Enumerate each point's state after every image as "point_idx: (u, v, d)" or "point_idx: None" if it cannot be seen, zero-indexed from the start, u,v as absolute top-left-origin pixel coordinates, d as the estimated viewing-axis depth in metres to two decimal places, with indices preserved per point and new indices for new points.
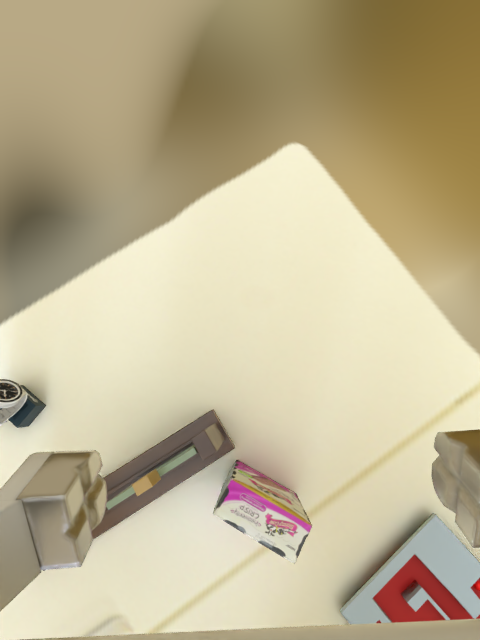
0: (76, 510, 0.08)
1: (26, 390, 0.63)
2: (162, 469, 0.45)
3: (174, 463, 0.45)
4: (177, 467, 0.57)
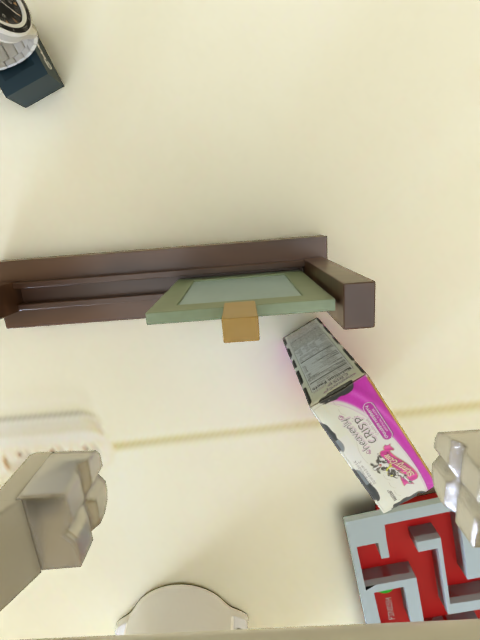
0: (76, 510, 0.08)
1: None
2: (265, 307, 0.24)
3: (289, 308, 0.24)
4: None
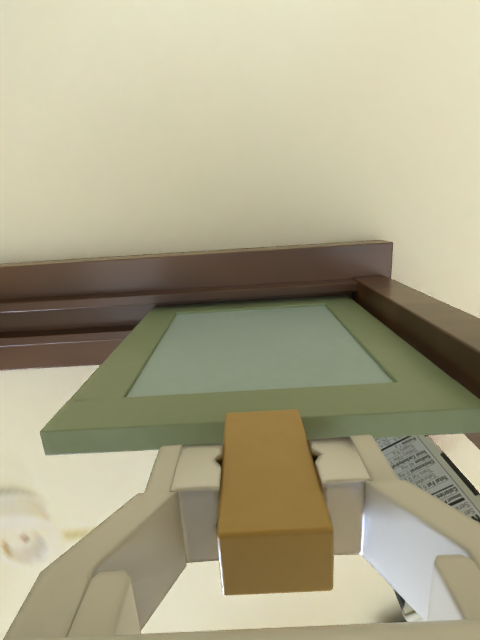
0: None
1: None
2: (322, 424, 0.10)
3: (379, 425, 0.10)
4: None
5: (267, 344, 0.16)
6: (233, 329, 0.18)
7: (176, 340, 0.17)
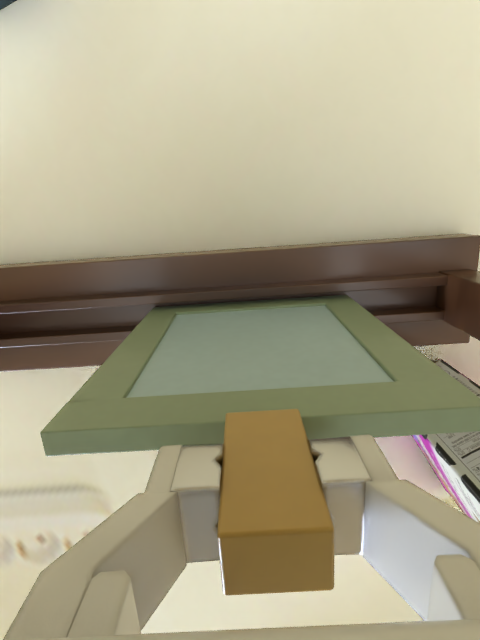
0: None
1: None
2: (322, 423, 0.10)
3: (380, 424, 0.10)
4: None
5: (267, 344, 0.16)
6: (233, 329, 0.18)
7: (176, 340, 0.17)
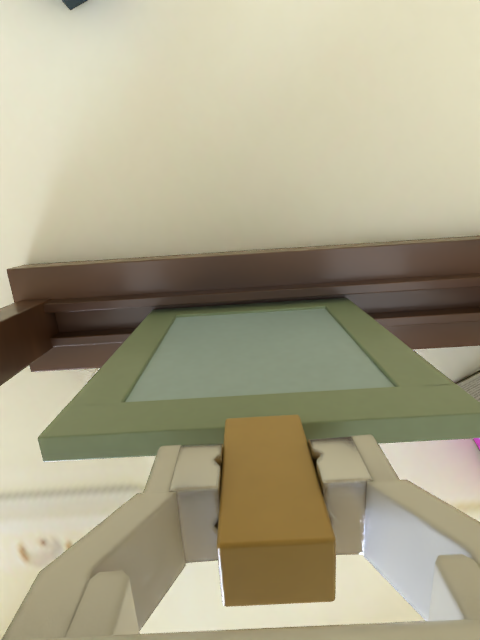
0: None
1: None
2: (323, 429, 0.10)
3: (381, 431, 0.10)
4: (412, 322, 0.23)
5: (267, 347, 0.16)
6: (233, 332, 0.18)
7: (175, 343, 0.17)
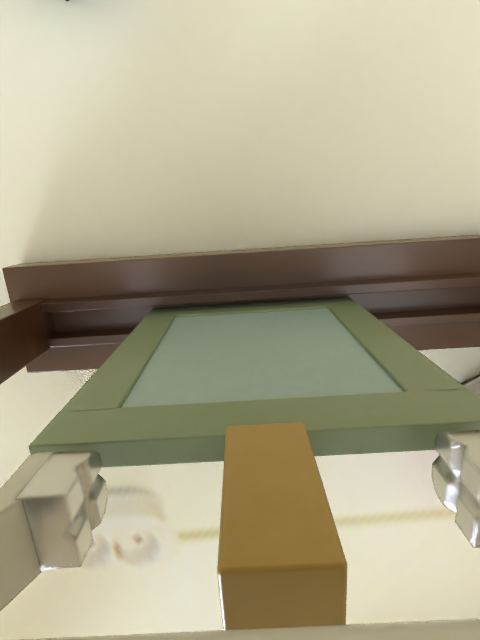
0: (76, 510, 0.08)
1: None
2: (329, 437, 0.10)
3: (390, 439, 0.10)
4: (418, 322, 0.22)
5: (269, 349, 0.16)
6: (234, 333, 0.18)
7: (174, 345, 0.17)
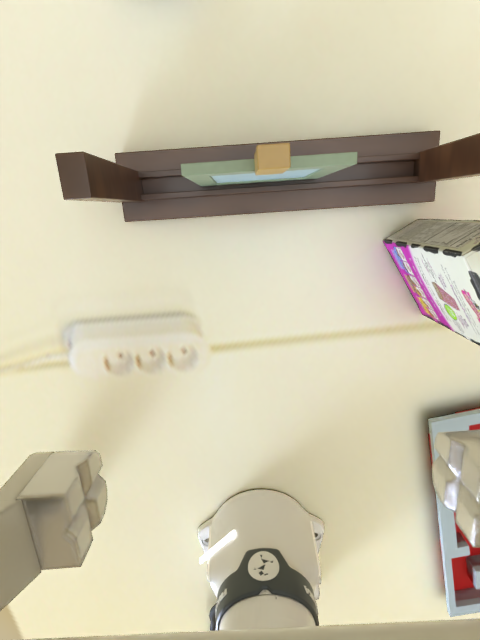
0: (76, 510, 0.08)
1: None
2: (292, 159, 0.26)
3: (314, 160, 0.26)
4: (355, 183, 0.39)
5: None
6: None
7: None
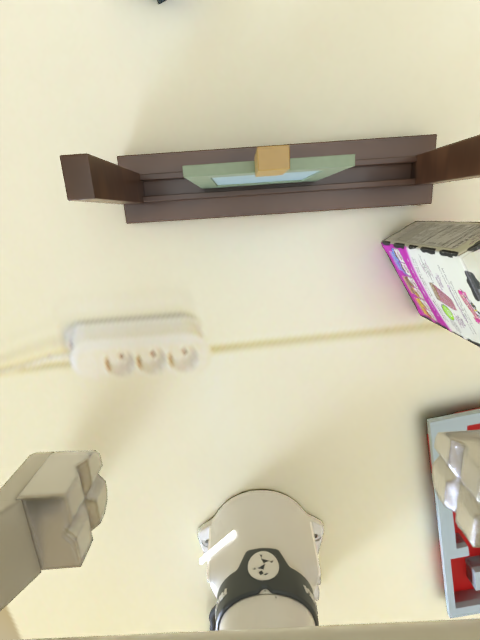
0: (76, 510, 0.08)
1: None
2: (291, 161, 0.26)
3: (313, 162, 0.26)
4: (354, 186, 0.39)
5: None
6: None
7: None
